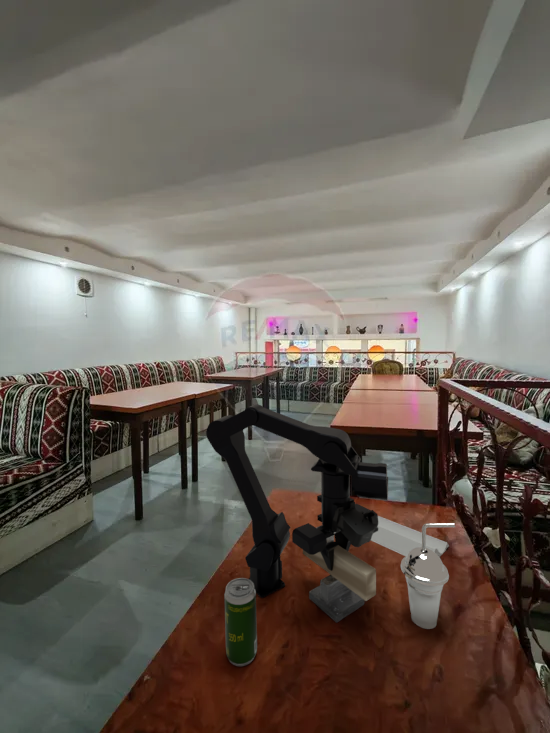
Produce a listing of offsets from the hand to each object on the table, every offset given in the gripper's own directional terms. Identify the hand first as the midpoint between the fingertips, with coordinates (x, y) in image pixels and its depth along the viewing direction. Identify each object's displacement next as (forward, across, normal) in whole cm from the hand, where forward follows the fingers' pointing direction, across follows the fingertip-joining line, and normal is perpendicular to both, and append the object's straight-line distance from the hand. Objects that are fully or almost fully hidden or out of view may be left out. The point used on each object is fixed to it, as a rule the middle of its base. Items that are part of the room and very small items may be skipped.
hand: (335, 566), depth 71 cm
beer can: (+8, -22, +1) cm, 23 cm away
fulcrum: (+8, 0, 0) cm, 8 cm away
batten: (+1, 0, 0) cm, 1 cm away
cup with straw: (+8, +10, -14) cm, 19 cm away
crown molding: (+8, +29, +11) cm, 32 cm away
